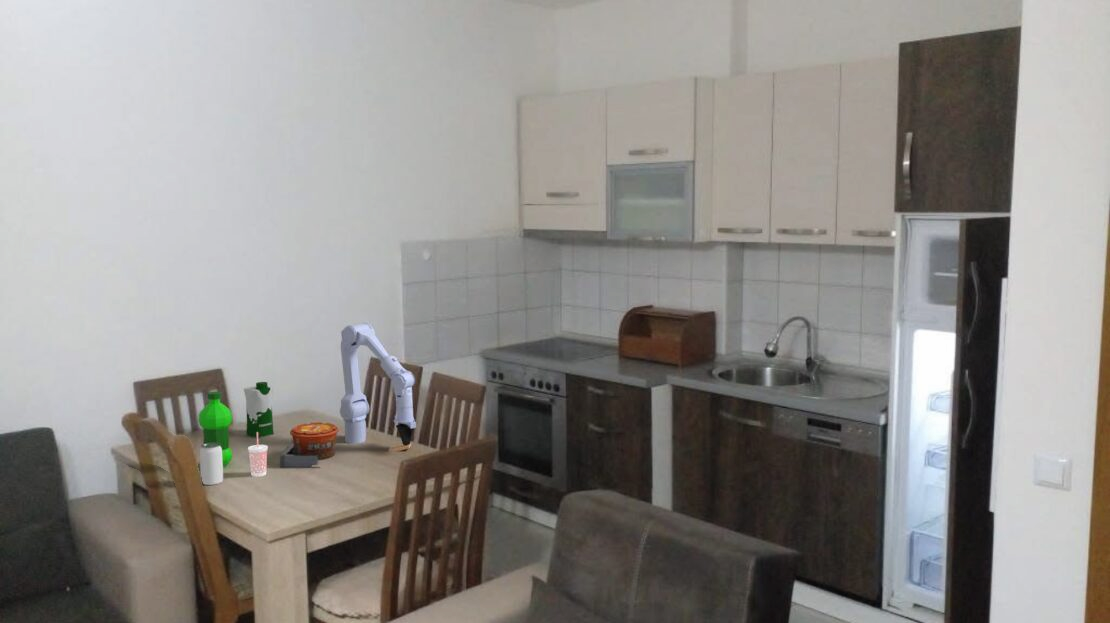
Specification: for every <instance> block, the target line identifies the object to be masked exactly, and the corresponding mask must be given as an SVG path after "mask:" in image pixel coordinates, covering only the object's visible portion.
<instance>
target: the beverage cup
mask: <svg viewBox="0 0 1110 623" xmlns="http://www.w3.org/2000/svg"><path fill="white" fill-rule="evenodd" d="M268 446H269V445H266V444H259V438H258V432H257V437H256V444H255V445H250V446H248V447H247V451H248V454H249V455H248V456H249V457H248V458H249V466H250V468H249V469H250V476H252V477H257V478H258V477H263V476H266V475H267V464H268V463H267V461H268V460H267V459H268V458H267V456H268V449H269V447H268Z"/></svg>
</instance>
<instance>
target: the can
mask: <svg viewBox="0 0 1110 623" xmlns="http://www.w3.org/2000/svg"><path fill="white" fill-rule="evenodd" d="M200 447H201V448H200V449H199V461H200V463H199V465H200V478H201V477H202V481H203V484H204V485H203V484H202V485H203V486H216V485H219V484H221V483H222V482H223V481H224V468H223V460H222V448H221V446H220V443H206V444H204V443H203V444H201V445H200Z"/></svg>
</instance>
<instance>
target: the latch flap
mask: <svg viewBox="0 0 1110 623" xmlns="http://www.w3.org/2000/svg"><path fill="white" fill-rule="evenodd" d="M411 445H412V442H411V441H410V445H403V443H401V444H398V445H393V446H390V447H389V448H388V450H387V452H400V451H404V450H407V449H410V447H411Z"/></svg>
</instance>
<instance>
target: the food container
mask: <svg viewBox="0 0 1110 623" xmlns="http://www.w3.org/2000/svg"><path fill="white" fill-rule="evenodd" d="M338 432H339V427H338V426H336V425H335V424H334V423H330V422H326V423H325V422H324V423H323V422H310V423H302V424H298V425H297V426H294V427H293V428H292V429H291V430H290V432H289V435H290V436H292V443H293V444H294V451H295V455H318V461H324V460H329V459H331V458H333V457H334V456H335V454H336V444H337V437H338Z"/></svg>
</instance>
